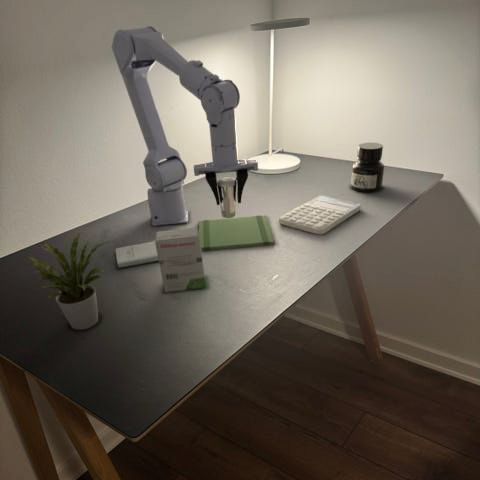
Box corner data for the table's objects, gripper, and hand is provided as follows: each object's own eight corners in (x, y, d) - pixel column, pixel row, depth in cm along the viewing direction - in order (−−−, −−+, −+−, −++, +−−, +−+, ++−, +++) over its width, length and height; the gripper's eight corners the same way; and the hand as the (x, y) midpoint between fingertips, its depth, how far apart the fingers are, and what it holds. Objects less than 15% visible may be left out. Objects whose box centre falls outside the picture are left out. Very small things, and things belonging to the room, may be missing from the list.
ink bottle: (343, 188, 134) (346, 146, 127) (361, 180, 138) (365, 139, 131) (371, 195, 128) (376, 152, 121) (388, 186, 132) (394, 144, 125)
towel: (199, 251, 106) (198, 247, 105) (199, 223, 119) (198, 220, 118) (274, 244, 106) (274, 241, 106) (266, 218, 119) (266, 214, 119)
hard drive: (173, 259, 103) (118, 269, 101) (167, 244, 110) (116, 253, 107) (171, 252, 102) (117, 262, 100) (166, 238, 109) (115, 247, 106)
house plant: (116, 290, 93) (97, 216, 84) (137, 323, 83) (117, 243, 73) (46, 312, 88) (17, 236, 78) (58, 350, 78) (27, 268, 68)
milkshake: (232, 221, 106) (231, 179, 100) (215, 216, 108) (212, 175, 103) (244, 215, 109) (243, 174, 103) (226, 210, 111) (224, 170, 105)
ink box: (205, 276, 96) (199, 225, 89) (206, 289, 92) (199, 235, 85) (164, 281, 95) (155, 229, 88) (164, 293, 91) (154, 240, 84)
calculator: (277, 223, 116) (277, 217, 114) (319, 199, 127) (320, 193, 126) (321, 236, 108) (321, 229, 107) (362, 209, 120) (362, 202, 119)
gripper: (191, 151, 95) (198, 211, 103) (258, 145, 96) (260, 206, 103) (191, 142, 101) (198, 200, 109) (255, 137, 101) (257, 195, 109)
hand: (228, 202), depth 106 cm, fingers closed on milkshake, 4 cm apart
